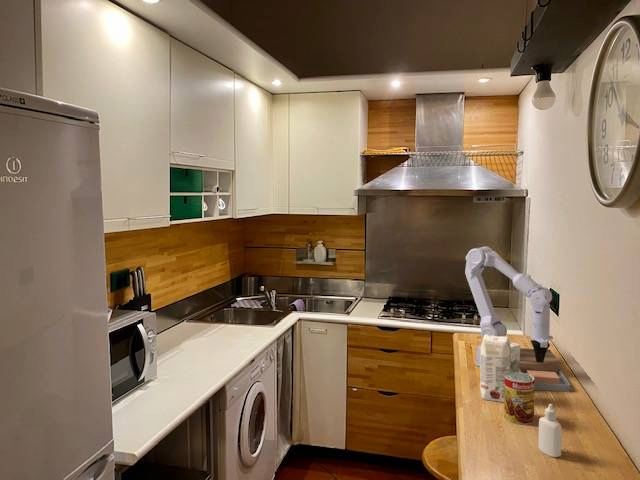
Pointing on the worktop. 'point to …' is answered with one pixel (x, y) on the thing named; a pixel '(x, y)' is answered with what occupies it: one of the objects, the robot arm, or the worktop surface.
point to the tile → (544, 377)
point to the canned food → (519, 398)
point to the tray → (562, 385)
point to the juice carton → (494, 366)
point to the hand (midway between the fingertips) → (539, 361)
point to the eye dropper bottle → (550, 433)
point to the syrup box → (515, 357)
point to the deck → (530, 362)
